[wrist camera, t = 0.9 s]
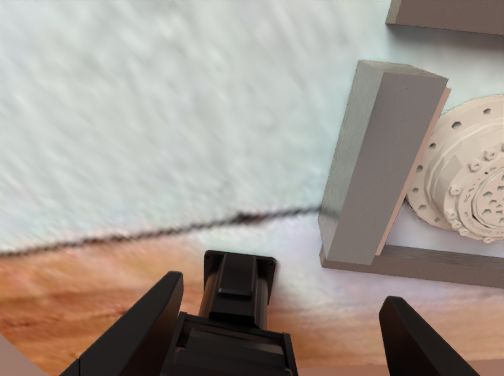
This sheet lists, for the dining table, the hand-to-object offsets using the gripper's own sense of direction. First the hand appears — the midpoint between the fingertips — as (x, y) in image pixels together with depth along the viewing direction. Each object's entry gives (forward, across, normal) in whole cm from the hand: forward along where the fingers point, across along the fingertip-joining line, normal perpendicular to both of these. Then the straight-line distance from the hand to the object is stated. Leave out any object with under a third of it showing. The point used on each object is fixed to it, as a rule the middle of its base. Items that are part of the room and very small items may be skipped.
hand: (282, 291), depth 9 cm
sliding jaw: (+13, -6, 0) cm, 14 cm away
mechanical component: (+13, -14, 0) cm, 19 cm away
